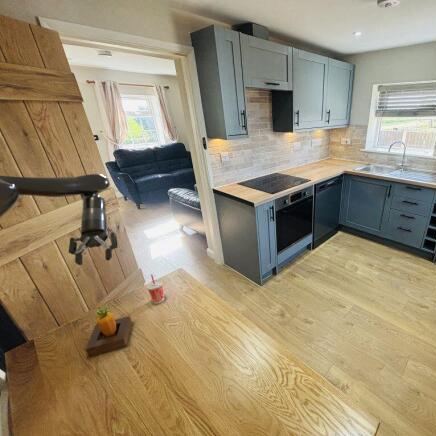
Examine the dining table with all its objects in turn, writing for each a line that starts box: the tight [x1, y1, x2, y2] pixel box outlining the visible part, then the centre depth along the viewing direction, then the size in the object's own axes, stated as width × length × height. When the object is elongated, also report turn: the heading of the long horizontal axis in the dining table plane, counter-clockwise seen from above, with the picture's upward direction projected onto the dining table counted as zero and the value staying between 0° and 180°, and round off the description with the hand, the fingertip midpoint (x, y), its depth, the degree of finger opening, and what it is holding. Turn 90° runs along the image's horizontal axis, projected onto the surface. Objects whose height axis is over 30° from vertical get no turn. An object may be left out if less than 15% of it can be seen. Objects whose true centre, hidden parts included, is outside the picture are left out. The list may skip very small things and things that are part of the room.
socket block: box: [85, 315, 133, 358], centre depth 87 cm, size 11×11×4 cm
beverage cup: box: [145, 274, 165, 305], centre depth 103 cm, size 6×6×14 cm
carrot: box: [95, 304, 117, 338], centre depth 85 cm, size 5×5×15 cm
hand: (94, 262), depth 87 cm, fingers open, 8 cm apart
